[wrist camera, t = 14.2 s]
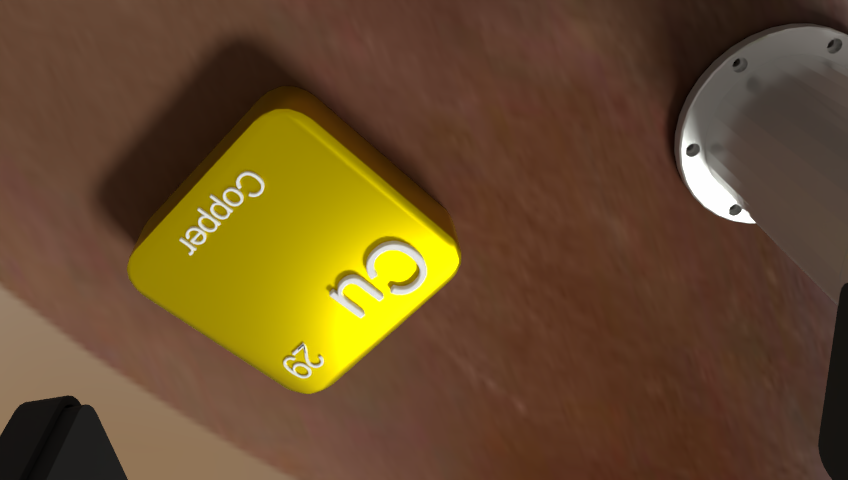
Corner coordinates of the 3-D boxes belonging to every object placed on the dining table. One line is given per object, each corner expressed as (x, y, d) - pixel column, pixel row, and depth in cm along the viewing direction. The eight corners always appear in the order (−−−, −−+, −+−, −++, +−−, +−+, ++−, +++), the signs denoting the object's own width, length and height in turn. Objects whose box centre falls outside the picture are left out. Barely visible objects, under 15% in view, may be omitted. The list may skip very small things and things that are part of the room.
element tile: (285, 68, 43) (279, 96, 39) (466, 225, 49) (478, 263, 45) (128, 240, 48) (108, 281, 43) (312, 364, 54) (310, 411, 49)
